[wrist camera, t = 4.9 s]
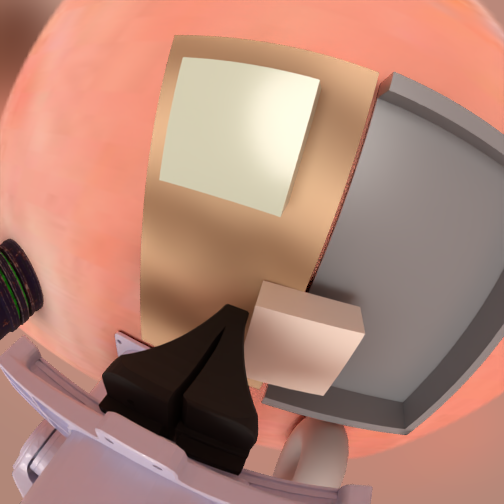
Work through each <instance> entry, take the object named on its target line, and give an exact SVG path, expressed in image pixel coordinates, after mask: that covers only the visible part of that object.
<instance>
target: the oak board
mask: <svg viewBox="0 0 504 504" xmlns="http://www.w3.org/2000/svg"><path fill="white" fill-rule="evenodd" d="M183 57H189V58H203V59H214V60H223V61H231V62H238V63H245V64H251V65H257V66H263V67H268V68H273V69H278V70H283V71H287V72H292V73H296V74H300V75H304V76H308V77H311V78H315V79H319V80H320V83H321V88H322V89H321V93H320V97H319V100H318V104H317V107H316V111H315V114H314V118H313V122H312V125H311V129H310V132H309V136H308V139H307V142H306V146H305V149H304V153H303V156H302V160H301V163H300V166H299V170H298V173H297V177H296V180H295V183H294V187H293V190H292V193H291V197H290V200H289V203H288V205H287V207H286V208H285V210H284V212H283V214H282V215H281V217H278V216H275V215H272V214H269V213H266V212H263V211H260V210H257V209H254V208H251V207H248V206H245V205H242V204H238V203H235V202H232V201H229V200H226V199H222V198H219V197H216V196H213V195H209V194H206V193H203V192H199V191H196V190H192V189H189V188H186V187H182V186H179V185H175V184H172V183H168V182H165V181H161V180H159V178H160V170H161V163H162V157H163V150H164V144H165V138H166V132H167V127H168V121H169V116H170V111H171V106H172V101H173V97H174V92H175V88H176V83H177V79H178V75H179V71H180V67H181V63H182V59H183ZM378 75H379V72H376V71H373V70H371V69H368V68H365V67H362V66H360V65H357V64H354V63H351V62H348V61H344V60H341V59H338V58H334V57H331V56H327V55H324V54H320V53H316V52H312V51H308V50H304V49H299V48H295V47H290V46H285V45H280V44H274V43H268V42H262V41H255V40H248V39H239V38H229V37H217V36H197V35H175V36H174V39H173V43H172V47H171V50H170V54H169V58H168V62H167V66H166V70H165V74H164V78H163V83H162V87H161V92H160V96H159V101H158V106H157V112H156V117H155V123H154V128H153V134H152V141H151V147H150V154H149V162H148V170H147V178H146V187H145V197H144V209H143V222H142V239H141V267H140V309H141V337H142V340H144V341H145V342H147V343H149V344H151V345H153V346H155V347H157V346H159V345H162V344H165V343H167V342H169V341H172V340H174V339H176V338H178V337H180V336H182V335H184V334H186V333H188V332H189V331H191V330H193V329H194V328H196V327H197V326H199V325H201V324H202V323H203V322H205V321H206V320H208V319H209V318H210V317H212V316H213V315H214V314H215V313H217V312H218V311H219V310H220V309H221V308H222V307H223V306H224V305H226V304H230V305H233V306H235V307H238V308H241V309H243V310H246V311H248V312H249V316H248V319H247V322H246V326H245V334H244V343H245V340H246V336H247V333H248V329H249V326H250V322H251V319H252V316H253V312H254V309H255V305H256V302H257V299H258V296H259V292H260V289H261V286H262V283H263V280H264V281H267V282H271V283H274V284H278V285H282V286H285V287H289V288H292V289H296V290H299V291H303V292H305V290H306V287H307V285H308V283H309V280H310V278H311V275H312V273H313V271H314V268H315V266H316V263H317V261H318V258H319V256H320V253H321V251H322V248H323V245H324V243H325V240H326V238H327V235H328V232H329V230H330V227H331V224H332V222H333V219H334V216H335V214H336V211H337V208H338V205H339V202H340V200H341V197H342V194H343V191H344V188H345V185H346V182H347V180H348V177H349V174H350V171H351V168H352V165H353V161H354V158H355V155H356V152H357V149H358V146H359V143H360V139H361V136H362V133H363V130H364V126H365V123H366V119H367V116H368V113H369V109H370V105H371V102H372V98H373V95H374V91H375V87H376V83H377V79H378ZM247 381H248V385H249V386H250V387H253V388H256V389H260V387H261V385H262V383H263V382H260V381H256V380H253V379H249V378H247Z"/></svg>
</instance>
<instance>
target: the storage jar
mask: <svg viewBox="0 0 504 504" xmlns="http://www.w3.org/2000/svg"><path fill="white" fill-rule="evenodd" d="M42 306H43V295H42V290H41V287H40V284H39V281H38V278H37V276H36V273H35V271H34V269H33V267H32V265H31V263H30V261H29V259H28V258H27V256H26V254H25V253H24V251H23V250H22V249H21V247H20V246H19V245H18V244H17V243H16V242H15V241H13V240H11V239H7V240H6V241H4V242H3V243H2V244H1V245H0V340H1V339H2V338H3V337H4V336H5V335H6V334H7V333H9V332H13V331H14V330H16V329H17V328H18V327H19V326H20V325H23V323H25V322H26V321H27V320H28V319H29V317H31V316H32V315H33V313H34V312H35V311H38V310H39V309H40V308H41V307H42Z"/></svg>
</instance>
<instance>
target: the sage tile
mask: <svg viewBox="0 0 504 504" xmlns="http://www.w3.org/2000/svg"><path fill="white" fill-rule="evenodd" d="M321 89H322V88H321V83H320V80H319V79H315V78H311V77H308V76H304V75H300V74H296V73H292V72H287V71H283V70H278V69H273V68H268V67H263V66H257V65H251V64H245V63H238V62H231V61H223V60H214V59H203V58H189V57H183V59H182V63H181V67H180V71H179V75H178V79H177V83H176V88H175V92H174V97H173V101H172V106H171V111H170V116H169V121H168V127H167V132H166V138H165V144H164V150H163V157H162V163H161V170H160V178H159V180H161V181H165V182H168V183H172V184H175V185H179V186H182V187H186V188H189V189H192V190H196V191H199V192H203V193H206V194H209V195H213V196H216V197H219V198H222V199H226V200H229V201H232V202H235V203H238V204H242V205H245V206H248V207H251V208H254V209H257V210H260V211H263V212H266V213H269V214H272V215H275V216H278V217H281V215H282V214H283V212H284V210H285V208H286V207H287V205H288V203H289V200H290V197H291V193H292V190H293V187H294V183H295V180H296V177H297V173H298V170H299V166H300V163H301V160H302V156H303V153H304V149H305V146H306V142H307V139H308V136H309V132H310V129H311V125H312V122H313V118H314V114H315V111H316V107H317V104H318V100H319V97H320V93H321Z"/></svg>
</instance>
